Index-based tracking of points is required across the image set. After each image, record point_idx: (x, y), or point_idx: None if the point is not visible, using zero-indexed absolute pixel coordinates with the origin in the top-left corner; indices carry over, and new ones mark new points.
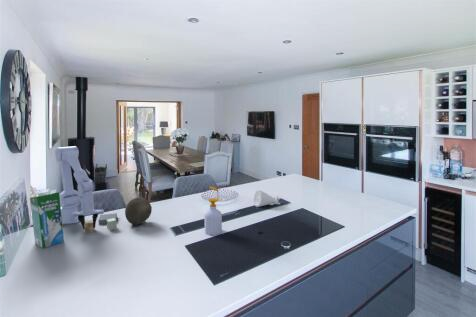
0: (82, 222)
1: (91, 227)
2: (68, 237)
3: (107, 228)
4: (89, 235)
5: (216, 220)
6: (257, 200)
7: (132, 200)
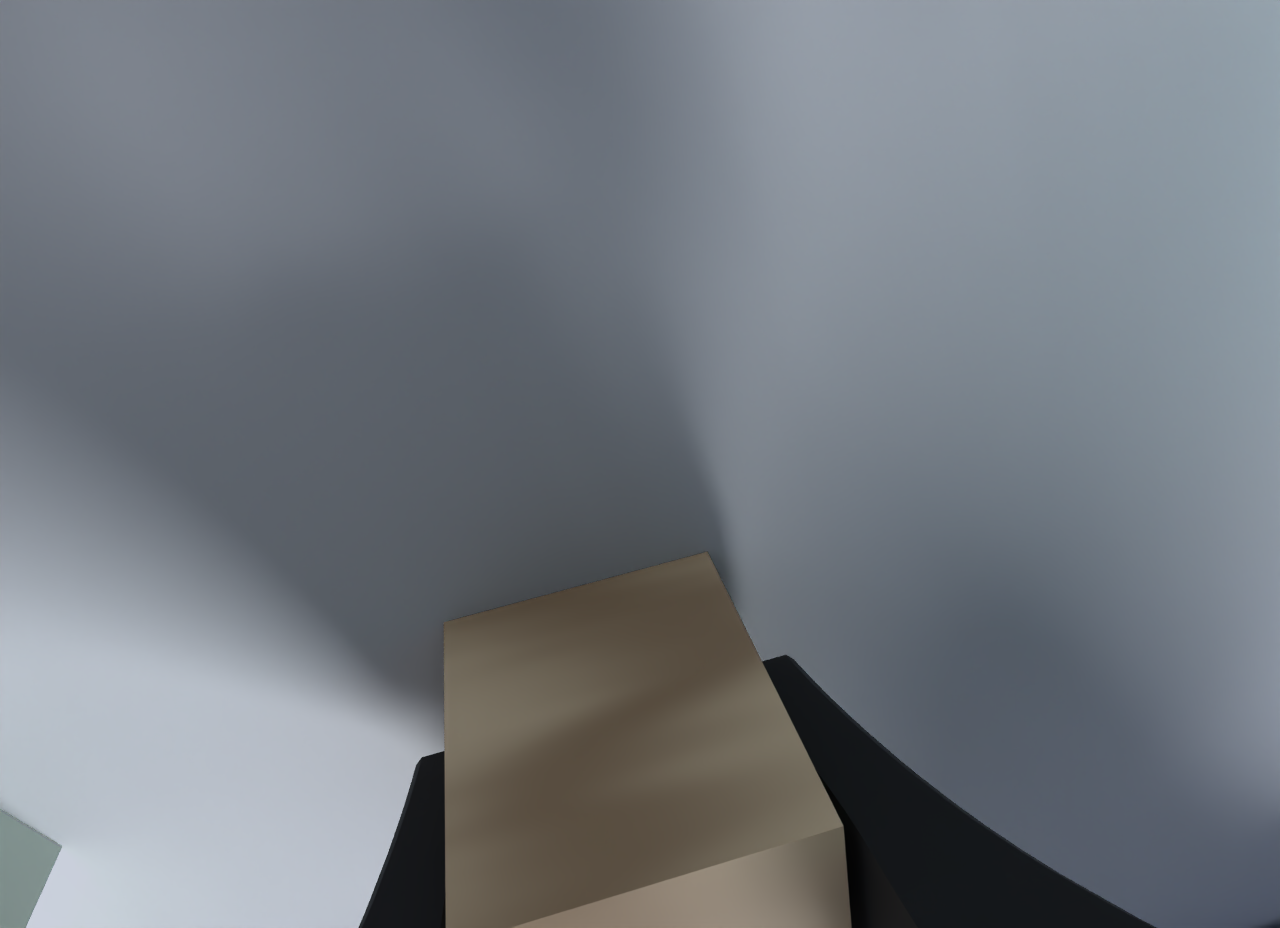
0: (944, 877)
1: (503, 730)
2: (1145, 198)
3: (6, 828)
4: (424, 291)
5: None
6: None
7: None
